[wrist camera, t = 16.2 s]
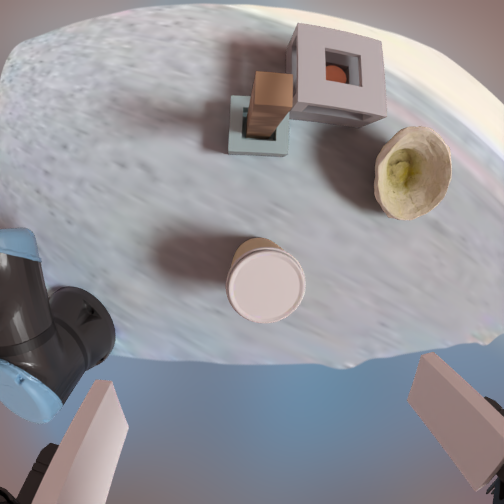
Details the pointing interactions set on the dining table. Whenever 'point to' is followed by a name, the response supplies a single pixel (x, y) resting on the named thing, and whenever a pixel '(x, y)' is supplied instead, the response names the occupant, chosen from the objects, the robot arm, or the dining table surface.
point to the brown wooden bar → (268, 103)
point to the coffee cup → (264, 281)
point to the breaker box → (329, 92)
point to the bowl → (412, 173)
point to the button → (335, 74)
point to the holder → (254, 146)
